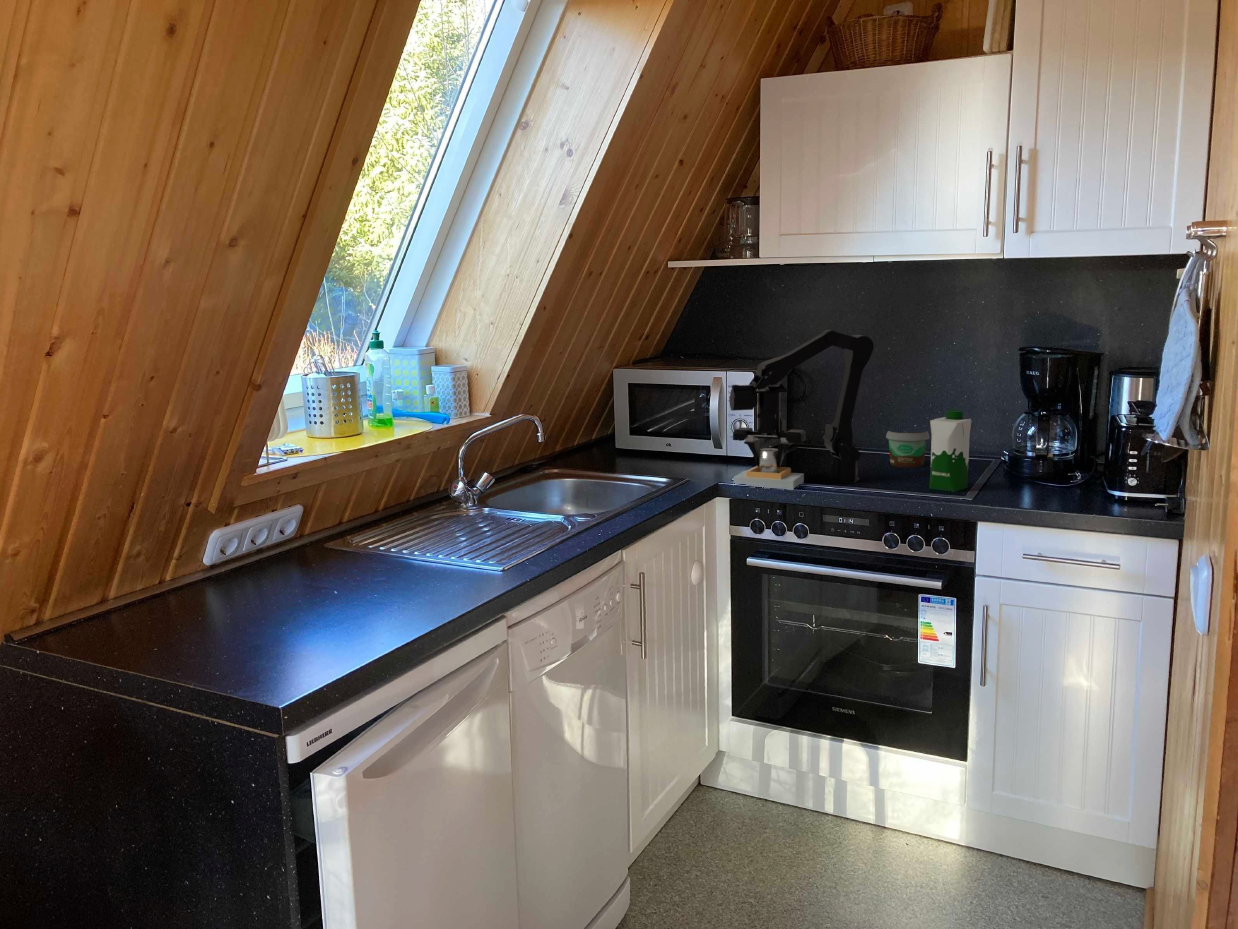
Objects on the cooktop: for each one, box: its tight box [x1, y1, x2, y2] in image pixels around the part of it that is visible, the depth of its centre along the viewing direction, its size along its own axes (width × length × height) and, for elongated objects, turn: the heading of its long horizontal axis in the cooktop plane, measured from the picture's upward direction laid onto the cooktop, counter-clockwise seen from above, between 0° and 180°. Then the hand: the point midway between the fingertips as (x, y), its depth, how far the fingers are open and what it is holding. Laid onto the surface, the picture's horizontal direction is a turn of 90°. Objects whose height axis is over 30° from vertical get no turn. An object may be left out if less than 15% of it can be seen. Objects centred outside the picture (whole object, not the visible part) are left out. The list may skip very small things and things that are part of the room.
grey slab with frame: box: [733, 465, 805, 491], centre depth 270 cm, size 16×10×4 cm, turn 65°
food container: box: [885, 430, 930, 468], centre depth 291 cm, size 12×6×10 cm, turn 80°
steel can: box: [759, 447, 779, 473], centre depth 269 cm, size 5×5×6 cm
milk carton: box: [928, 409, 972, 493], centre depth 258 cm, size 9×9×20 cm
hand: (769, 466), depth 269 cm, fingers closed on steel can, 5 cm apart
